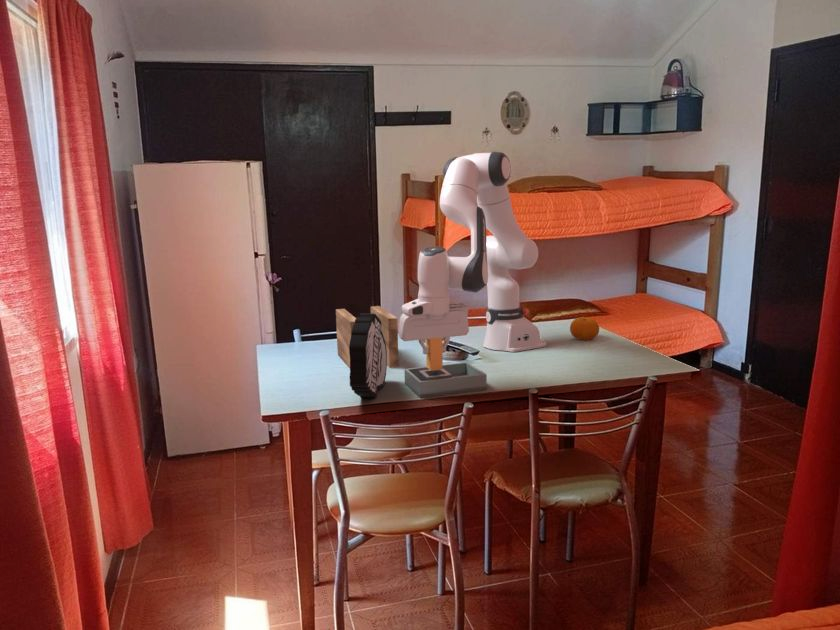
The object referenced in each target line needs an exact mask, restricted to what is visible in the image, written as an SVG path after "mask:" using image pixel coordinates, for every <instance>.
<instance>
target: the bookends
mask: <svg viewBox="0 0 840 630" xmlns="http://www.w3.org/2000/svg"><path fill="white" fill-rule="evenodd" d="M370 314H376V316H377V317H378V318H379V319H380V321H381V331H382V334H383V337H384V340H385V343H386V349H387V367H388V368H398V367H399V324H398V317H397V316H395V315H393V314H392V313H390V312H389V311H387V310H386V309H385V308H384V307H382V306H380V305H375V306H373V305H372V306H370ZM355 319H356V317H355V316H353V314H352V313H350V312H349V311H348V310H346V308H337V309H335V325H336V345H337V356H338V357H339V359H341V360H342V361H343V362H344V364H345V365H346V366H347V368H349V369H350V354H349V345H350V339H351V333H352V329H353V326H354V323H355Z"/></svg>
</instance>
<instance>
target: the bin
mask: <svg viewBox="0 0 840 630" xmlns="http://www.w3.org/2000/svg"><path fill="white" fill-rule="evenodd" d="M403 369H404V385H405V386H406V387H408V388H409V389H410V390H411V391H412V392H413V393H414V394H415V395H416V396H417V397H418V398H419V399H425V398H429V397H431V398H432V397H440V396H446V395H455V394H462V393H471V392H477V391H486V390H487V378H488V377H487V373H485V372H483V371H482V370H481V369H480V368H477V367H476V366H474V365H473V364H471V363H469V362H468V361H465V362H457V363H456V362H455V363H446V364H445V363H444V364H443V369H444V370H446V371H447V372H448V373H450V374H451V375H452V378H445V379H437V380H428V381H421V380H420V379H419V371H422V370H429V369H428V368H427V366H422V367H421V366H419V367H411V368H403Z"/></svg>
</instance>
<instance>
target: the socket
mask: <svg viewBox="0 0 840 630" xmlns="http://www.w3.org/2000/svg"><path fill="white" fill-rule="evenodd" d="M445 378H452V375H451V374H450V373H448V372H447V371H446V370H444V369H440V370H432V371H431V370H422V371H419V379H420V380H421V381H428V380H437V379H445Z"/></svg>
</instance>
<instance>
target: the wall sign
mask: <svg viewBox="0 0 840 630" xmlns="http://www.w3.org/2000/svg"><path fill="white" fill-rule="evenodd" d="M355 318H356V319H355V323H354V326H353V329H352V333H351V339H350V345H349V354H350V368H349V386H350V387H351V391H353V393H354V394H355V395H357V396H358V397H359V398H363V399H377V395H378V391H379V390H380V389H382V388H383V387H384V386H385V382H386V377H387V375H386V374H387V367H388V366H387V349H386V343H385V340H384V337H383V334H382V331H381V321H380V319H379V318H378V317H377V316H376V314H371V313H359V316H356V317H355Z"/></svg>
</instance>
